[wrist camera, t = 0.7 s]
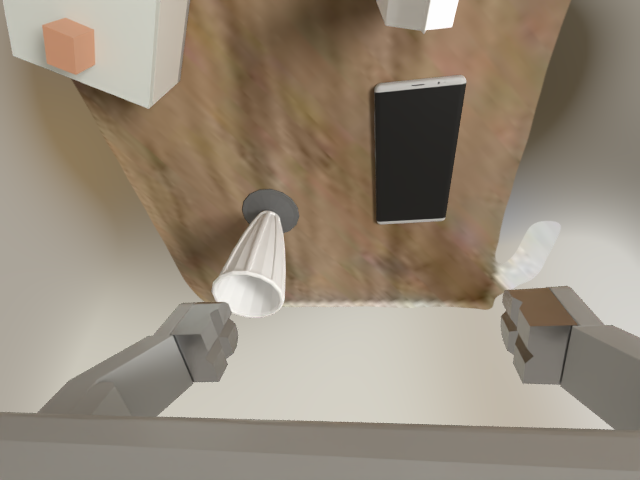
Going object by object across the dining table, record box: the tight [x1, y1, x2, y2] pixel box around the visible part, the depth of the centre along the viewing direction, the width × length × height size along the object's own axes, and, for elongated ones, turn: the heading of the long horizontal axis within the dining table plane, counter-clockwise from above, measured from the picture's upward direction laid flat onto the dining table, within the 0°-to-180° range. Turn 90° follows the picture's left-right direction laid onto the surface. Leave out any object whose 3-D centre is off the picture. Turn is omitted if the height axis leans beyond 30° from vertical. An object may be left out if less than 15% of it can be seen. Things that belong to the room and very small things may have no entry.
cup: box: [212, 189, 299, 318], centre depth 62 cm, size 12×12×22 cm
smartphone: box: [374, 75, 466, 224], centre depth 60 cm, size 13×27×2 cm, turn 7°
